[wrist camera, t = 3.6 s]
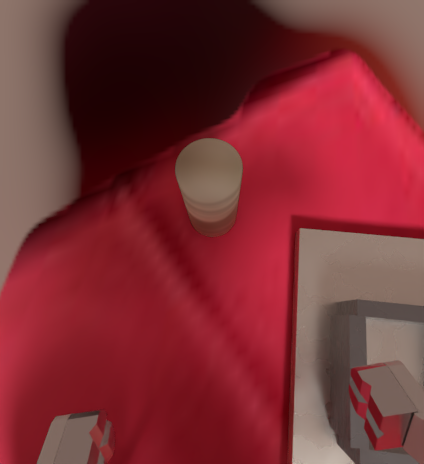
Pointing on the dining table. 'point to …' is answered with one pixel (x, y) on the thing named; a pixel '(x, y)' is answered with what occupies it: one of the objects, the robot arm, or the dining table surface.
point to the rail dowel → (210, 184)
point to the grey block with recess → (349, 337)
